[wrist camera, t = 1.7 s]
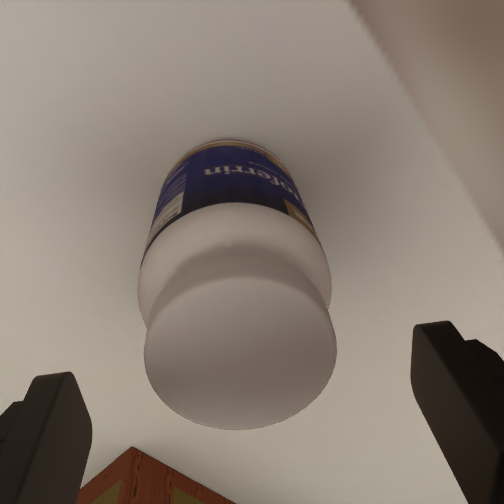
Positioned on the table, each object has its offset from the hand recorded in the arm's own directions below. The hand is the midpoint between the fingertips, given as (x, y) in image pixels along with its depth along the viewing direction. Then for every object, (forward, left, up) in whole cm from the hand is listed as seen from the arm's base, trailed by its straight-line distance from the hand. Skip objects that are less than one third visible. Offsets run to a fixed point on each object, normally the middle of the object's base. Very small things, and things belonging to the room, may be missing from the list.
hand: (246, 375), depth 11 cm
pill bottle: (0, 0, -10) cm, 10 cm away
